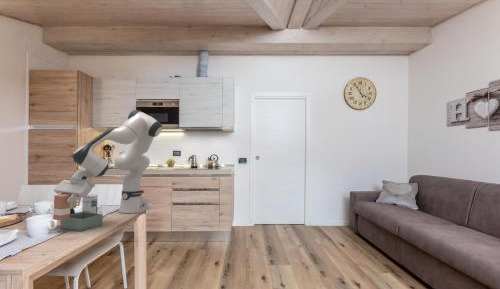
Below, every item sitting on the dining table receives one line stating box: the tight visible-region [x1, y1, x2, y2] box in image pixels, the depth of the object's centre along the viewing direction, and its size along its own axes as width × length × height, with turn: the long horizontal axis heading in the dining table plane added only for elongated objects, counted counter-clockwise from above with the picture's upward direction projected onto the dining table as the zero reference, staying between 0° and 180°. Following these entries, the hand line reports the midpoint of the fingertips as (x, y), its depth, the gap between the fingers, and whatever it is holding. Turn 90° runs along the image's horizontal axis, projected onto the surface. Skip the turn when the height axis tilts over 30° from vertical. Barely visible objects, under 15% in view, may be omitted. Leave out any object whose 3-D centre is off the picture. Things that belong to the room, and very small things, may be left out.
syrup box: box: [81, 193, 99, 213], centre depth 172 cm, size 6×6×14 cm
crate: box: [59, 211, 104, 232], centre depth 156 cm, size 14×14×6 cm
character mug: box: [70, 197, 81, 215], centre depth 169 cm, size 11×7×13 cm, turn 98°
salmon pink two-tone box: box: [52, 194, 71, 222], centre depth 146 cm, size 5×5×12 cm
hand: (62, 201), depth 146 cm, fingers closed on salmon pink two-tone box, 5 cm apart
